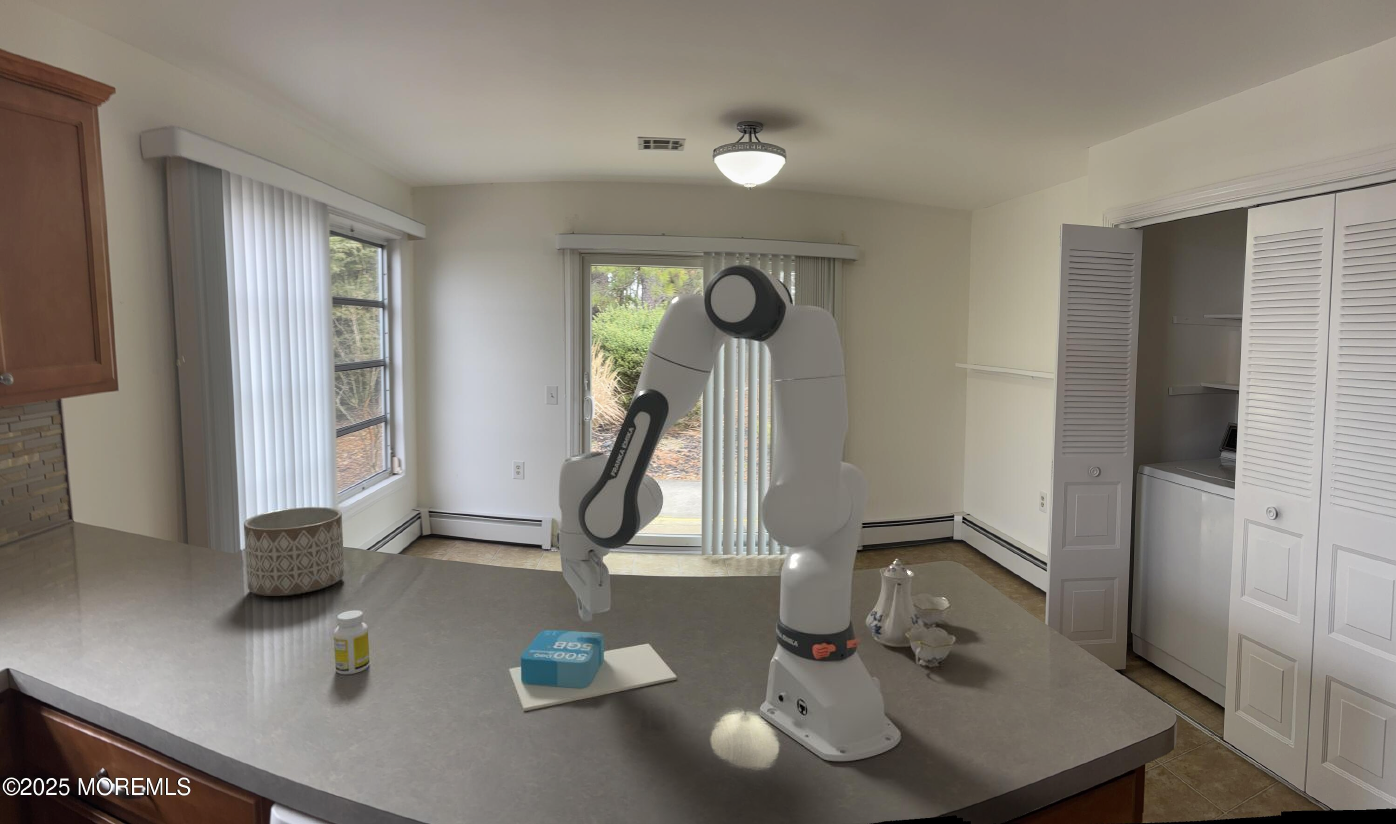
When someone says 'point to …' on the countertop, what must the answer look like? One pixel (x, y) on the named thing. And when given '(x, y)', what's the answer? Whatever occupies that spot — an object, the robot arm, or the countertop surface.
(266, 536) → the planter
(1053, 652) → the countertop surface
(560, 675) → the data package
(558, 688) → the mat
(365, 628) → the supplement bottle
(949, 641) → the chinaware
